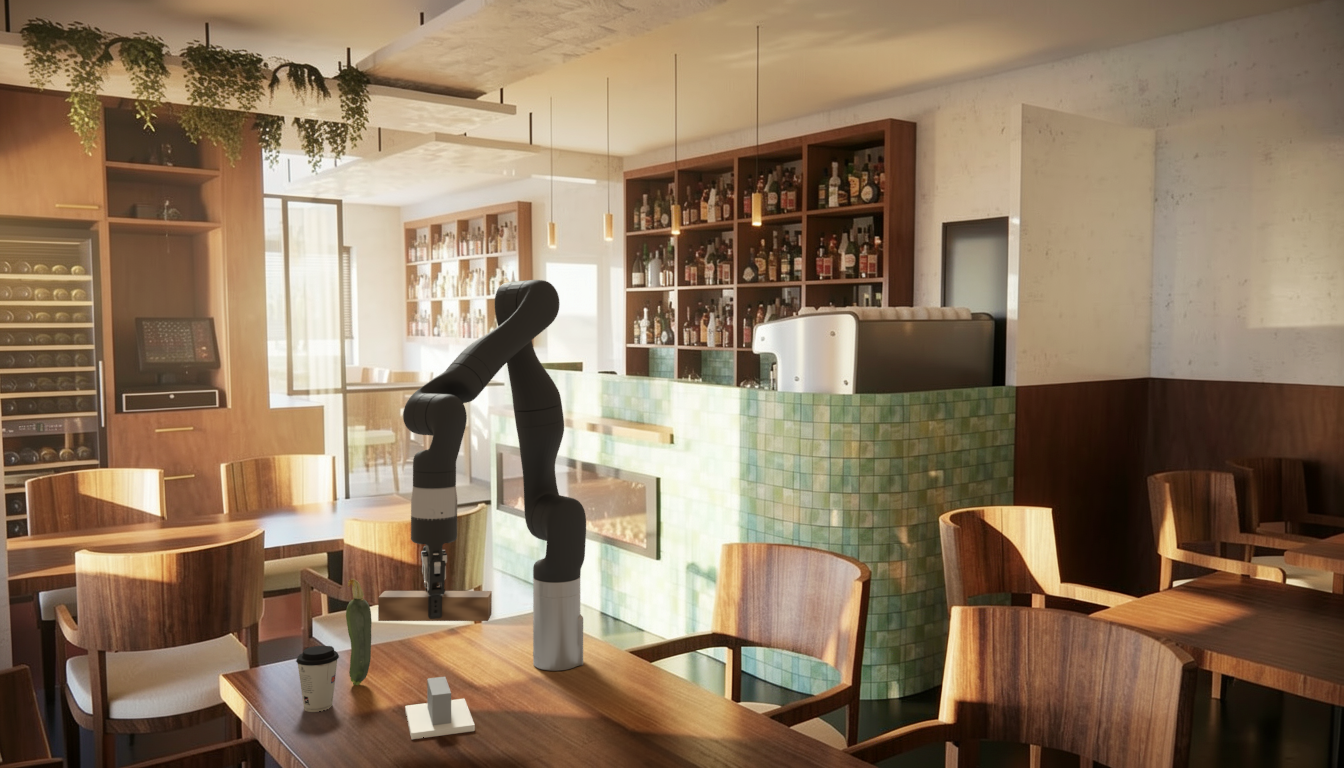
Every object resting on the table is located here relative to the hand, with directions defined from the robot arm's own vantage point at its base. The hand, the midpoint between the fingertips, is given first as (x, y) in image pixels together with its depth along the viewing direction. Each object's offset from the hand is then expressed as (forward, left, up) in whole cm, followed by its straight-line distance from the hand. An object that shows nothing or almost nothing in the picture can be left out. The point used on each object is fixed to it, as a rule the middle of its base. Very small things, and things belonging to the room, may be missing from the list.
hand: (433, 613), depth 159 cm
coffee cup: (+18, -11, -18) cm, 28 cm away
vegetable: (+11, -19, -18) cm, 29 cm away
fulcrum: (-1, +2, -18) cm, 18 cm away
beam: (0, 0, -1) cm, 1 cm away
